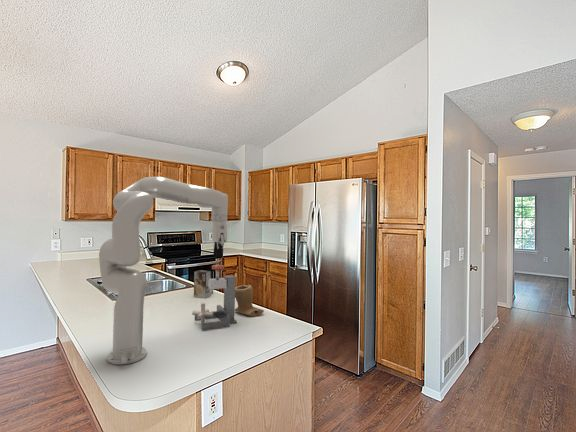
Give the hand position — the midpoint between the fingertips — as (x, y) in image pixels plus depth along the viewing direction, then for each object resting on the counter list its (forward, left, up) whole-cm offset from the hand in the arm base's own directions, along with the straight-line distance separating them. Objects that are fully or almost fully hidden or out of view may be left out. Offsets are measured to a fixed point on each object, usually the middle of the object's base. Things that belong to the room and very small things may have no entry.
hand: (218, 256), depth 149 cm
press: (0, 0, -32) cm, 32 cm away
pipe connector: (0, +6, -32) cm, 33 cm away
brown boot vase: (+7, -18, -33) cm, 38 cm away
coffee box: (+50, -5, -32) cm, 60 cm away
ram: (0, 0, -18) cm, 18 cm away
